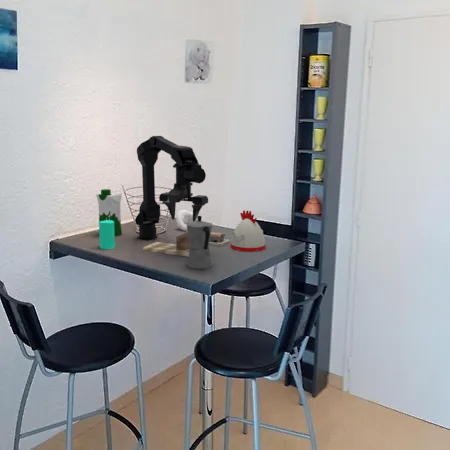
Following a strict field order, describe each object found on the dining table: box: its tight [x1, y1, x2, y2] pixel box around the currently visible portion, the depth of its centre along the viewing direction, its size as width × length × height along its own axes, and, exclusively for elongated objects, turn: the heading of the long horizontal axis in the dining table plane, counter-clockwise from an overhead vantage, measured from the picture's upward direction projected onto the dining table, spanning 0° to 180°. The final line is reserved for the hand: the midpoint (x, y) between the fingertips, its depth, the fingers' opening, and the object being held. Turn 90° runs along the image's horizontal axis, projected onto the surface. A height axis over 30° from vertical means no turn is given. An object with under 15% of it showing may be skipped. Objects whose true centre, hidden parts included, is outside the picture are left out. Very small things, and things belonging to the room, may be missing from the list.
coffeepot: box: [186, 215, 213, 270], centre depth 195 cm, size 15×9×18 cm, turn 22°
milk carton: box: [96, 188, 123, 237], centre depth 240 cm, size 9×9×20 cm
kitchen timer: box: [230, 209, 266, 253], centre depth 222 cm, size 14×14×15 cm
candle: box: [98, 218, 116, 250], centre depth 219 cm, size 6×6×12 cm
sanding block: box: [175, 232, 190, 252], centre depth 214 cm, size 4×7×6 cm, turn 155°
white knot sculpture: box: [175, 209, 200, 232], centre depth 254 cm, size 11×12×9 cm
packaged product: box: [183, 231, 231, 248], centre depth 231 cm, size 18×5×10 cm
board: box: [143, 241, 189, 257], centre depth 217 cm, size 20×10×1 cm, turn 64°
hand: (183, 220), depth 215 cm, fingers open, 9 cm apart
